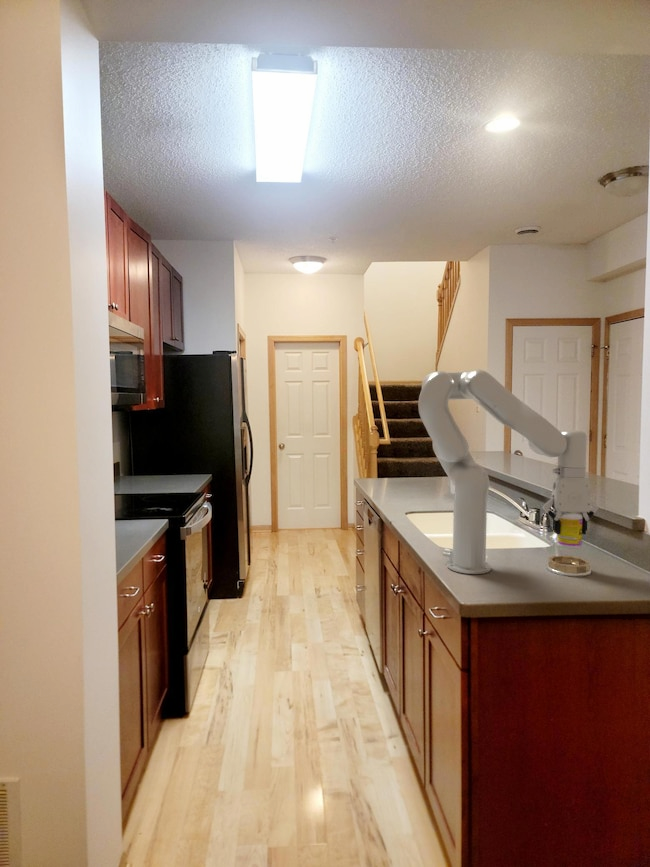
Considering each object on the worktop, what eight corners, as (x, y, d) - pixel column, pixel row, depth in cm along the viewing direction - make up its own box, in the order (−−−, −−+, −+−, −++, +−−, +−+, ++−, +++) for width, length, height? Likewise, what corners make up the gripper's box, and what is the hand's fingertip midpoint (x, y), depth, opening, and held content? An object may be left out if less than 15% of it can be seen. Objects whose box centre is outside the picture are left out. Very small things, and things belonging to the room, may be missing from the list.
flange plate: (539, 569, 162) (539, 560, 162) (557, 561, 170) (557, 552, 170) (580, 579, 153) (581, 569, 153) (597, 570, 161) (597, 561, 161)
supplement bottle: (582, 550, 157) (583, 506, 156) (557, 548, 159) (558, 504, 158) (580, 545, 163) (581, 502, 162) (556, 542, 166) (557, 500, 165)
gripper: (546, 474, 156) (544, 536, 158) (607, 474, 156) (605, 536, 157) (536, 471, 164) (535, 529, 165) (595, 471, 163) (593, 530, 164)
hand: (569, 532), depth 161 cm, fingers closed on supplement bottle, 6 cm apart
